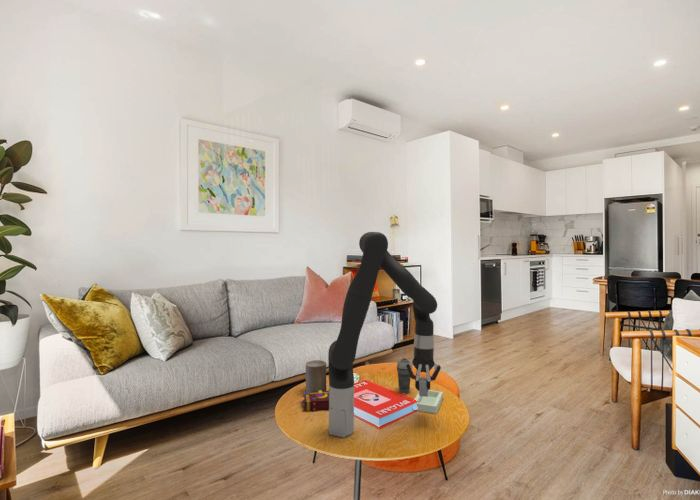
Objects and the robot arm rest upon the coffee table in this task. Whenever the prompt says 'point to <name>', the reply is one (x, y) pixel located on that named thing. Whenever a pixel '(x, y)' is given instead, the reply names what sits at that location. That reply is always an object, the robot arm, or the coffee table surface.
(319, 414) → the coffee table surface
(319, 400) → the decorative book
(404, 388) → the beverage cup
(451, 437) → the coffee table surface
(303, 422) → the coffee table surface
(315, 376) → the pillar candle
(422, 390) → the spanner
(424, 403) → the mint green tray
